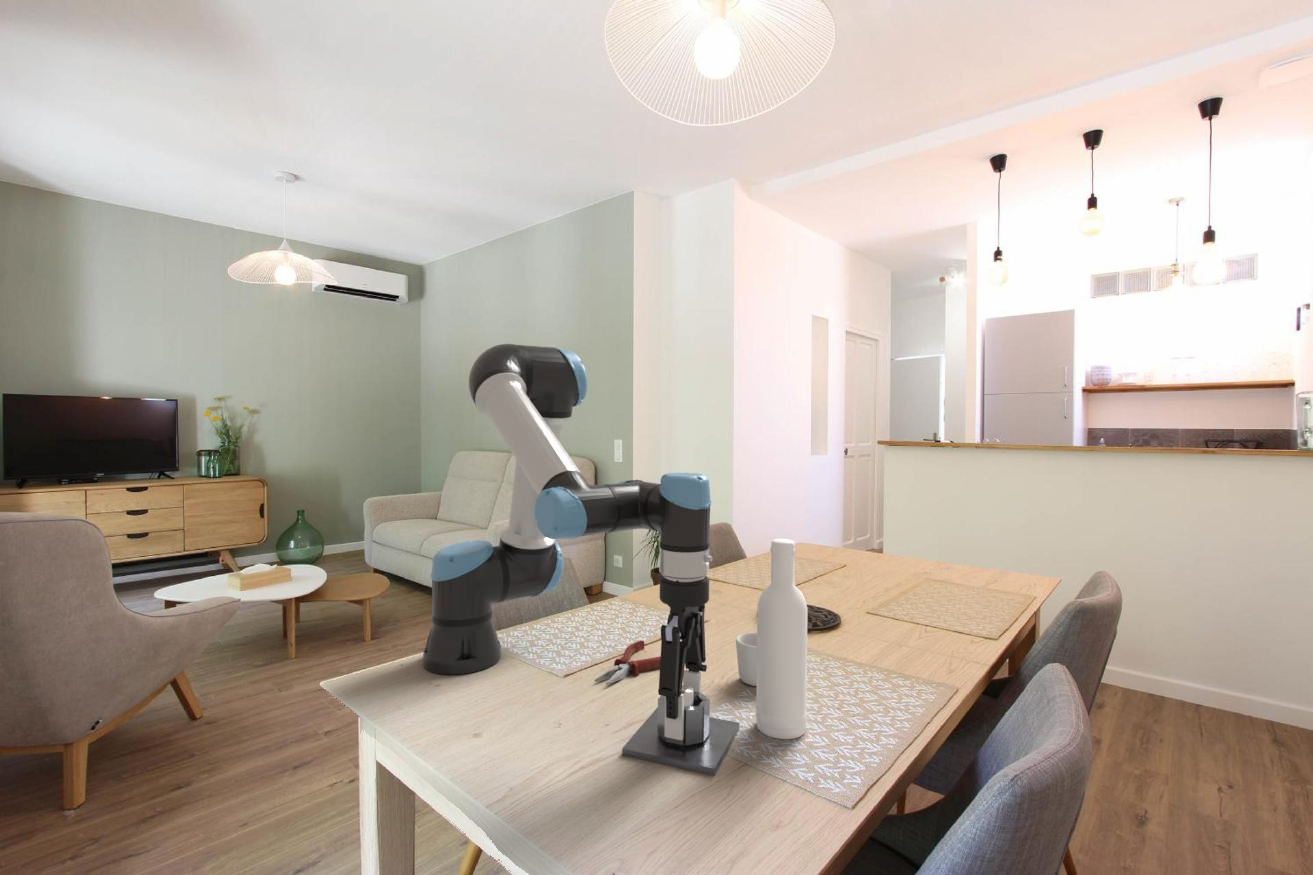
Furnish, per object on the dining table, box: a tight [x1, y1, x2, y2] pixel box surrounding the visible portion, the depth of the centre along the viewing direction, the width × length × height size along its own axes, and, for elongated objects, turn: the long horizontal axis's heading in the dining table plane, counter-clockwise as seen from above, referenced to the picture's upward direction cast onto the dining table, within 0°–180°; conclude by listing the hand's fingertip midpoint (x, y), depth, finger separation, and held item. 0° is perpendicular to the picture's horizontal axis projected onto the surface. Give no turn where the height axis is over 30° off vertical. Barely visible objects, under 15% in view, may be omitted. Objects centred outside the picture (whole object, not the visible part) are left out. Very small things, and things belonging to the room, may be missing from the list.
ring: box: [657, 692, 711, 745], centre depth 94 cm, size 7×7×5 cm
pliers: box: [594, 640, 661, 685], centre depth 121 cm, size 12×20×3 cm, turn 146°
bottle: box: [755, 538, 808, 740], centre depth 98 cm, size 8×8×30 cm
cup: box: [735, 632, 757, 687], centre depth 115 cm, size 11×8×8 cm
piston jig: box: [621, 684, 741, 777], centre depth 94 cm, size 14×14×8 cm
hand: (683, 724), depth 94 cm, fingers closed on ring, 7 cm apart
